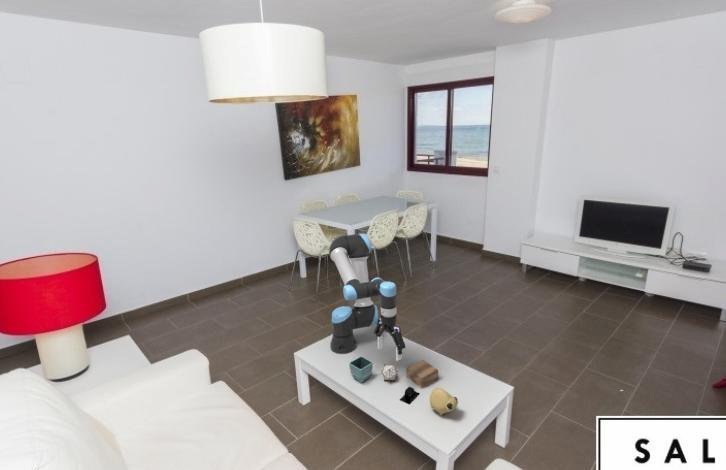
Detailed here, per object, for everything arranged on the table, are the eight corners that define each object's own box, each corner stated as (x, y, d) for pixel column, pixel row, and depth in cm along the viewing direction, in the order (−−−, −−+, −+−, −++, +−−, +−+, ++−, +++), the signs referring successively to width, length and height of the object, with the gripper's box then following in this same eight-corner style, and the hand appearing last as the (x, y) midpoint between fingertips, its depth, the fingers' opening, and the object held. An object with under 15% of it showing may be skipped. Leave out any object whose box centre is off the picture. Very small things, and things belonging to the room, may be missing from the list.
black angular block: (409, 408, 171) (409, 400, 169) (395, 402, 175) (395, 393, 174) (422, 393, 180) (422, 385, 179) (409, 387, 184) (409, 379, 183)
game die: (392, 383, 193) (402, 367, 193) (391, 389, 184) (402, 371, 184) (377, 373, 194) (387, 357, 194) (375, 378, 185) (386, 360, 186)
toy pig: (449, 424, 160) (450, 402, 157) (425, 411, 168) (425, 390, 165) (460, 411, 167) (461, 390, 164) (437, 399, 175) (437, 379, 172)
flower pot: (361, 370, 198) (361, 355, 196) (373, 377, 192) (373, 362, 189) (349, 378, 192) (348, 362, 190) (361, 386, 186) (360, 370, 184)
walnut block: (406, 377, 191) (406, 367, 190) (422, 369, 198) (422, 359, 196) (422, 389, 183) (422, 378, 181) (438, 380, 189) (438, 369, 187)
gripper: (366, 307, 188) (367, 346, 193) (400, 326, 169) (401, 368, 174) (377, 303, 192) (378, 341, 198) (412, 320, 173) (413, 361, 179)
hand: (389, 353), depth 186 cm, fingers open, 13 cm apart
